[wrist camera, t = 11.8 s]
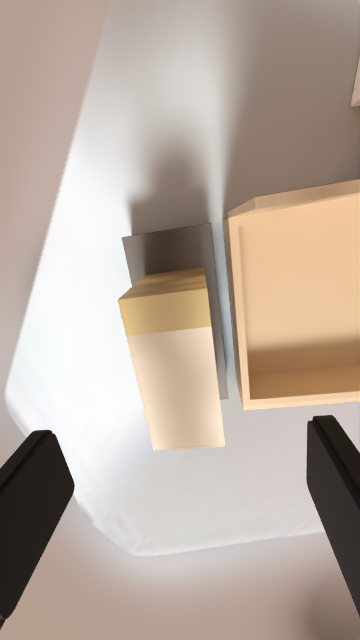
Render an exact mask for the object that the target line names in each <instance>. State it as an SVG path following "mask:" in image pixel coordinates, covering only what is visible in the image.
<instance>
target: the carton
mask: <svg viewBox="0 0 360 640" xmlns="http://www.w3.org/2000/svg"><path fill="white" fill-rule="evenodd" d="M223 230H224V242H225V253H226V265H227V276H228V288H229V299H230V311H231V322H232V334H233V345H234V357H235V368H236V380H237V386H238V390H239V394H240V398H241V401H242V405H243V409H244V410H251V409H264V408H277V407H290V406H303V405H316V404H329V403H342V402H355V401H360V179H357V180H351V181H345V182H339V183H333V184H328V185H322V186H316V187H310V188H304V189H298V190H292V191H287V192H281V193H275V194H269V195H263V196H257V197H254V198H252V199H250V200H248V201H246V202H245V203H243V204H241V205H239V206H237V207H236V208H234V209H232V210H230V211H228V219H225V220H223Z"/></svg>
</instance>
